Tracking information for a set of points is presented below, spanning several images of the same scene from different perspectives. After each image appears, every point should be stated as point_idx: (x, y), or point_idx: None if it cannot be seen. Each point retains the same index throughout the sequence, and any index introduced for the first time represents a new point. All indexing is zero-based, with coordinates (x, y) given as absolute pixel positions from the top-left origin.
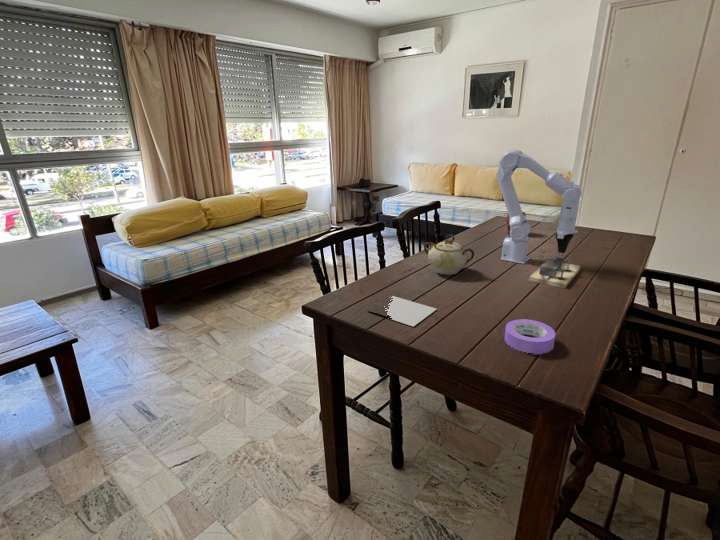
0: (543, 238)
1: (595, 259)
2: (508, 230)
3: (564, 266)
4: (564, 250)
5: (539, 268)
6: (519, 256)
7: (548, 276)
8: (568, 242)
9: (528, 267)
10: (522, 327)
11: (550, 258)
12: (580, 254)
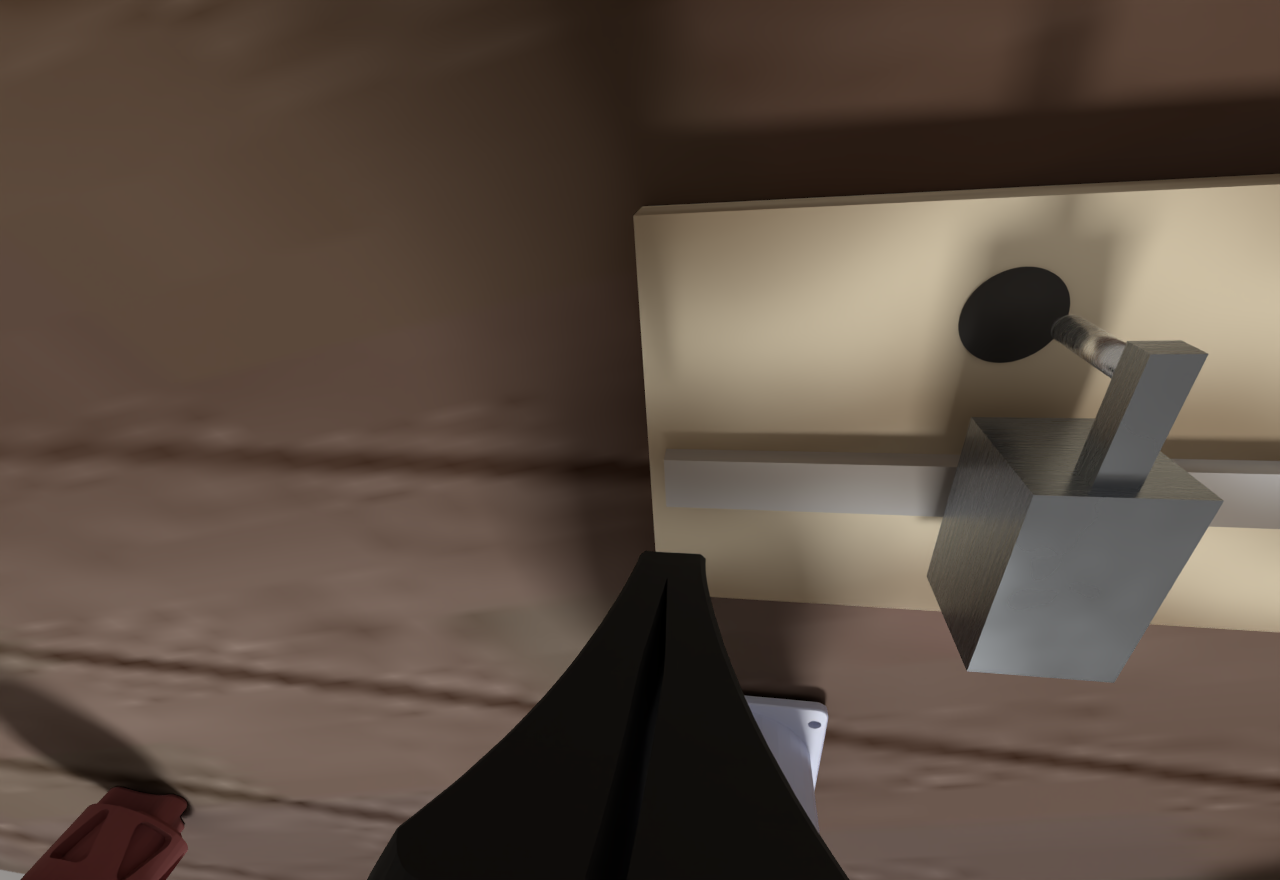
0: (36, 674)
1: (54, 140)
2: (179, 856)
3: (816, 401)
4: (707, 595)
5: None
6: (809, 793)
7: None
8: (714, 744)
9: (903, 659)
10: None
11: (1109, 657)
12: (78, 354)
